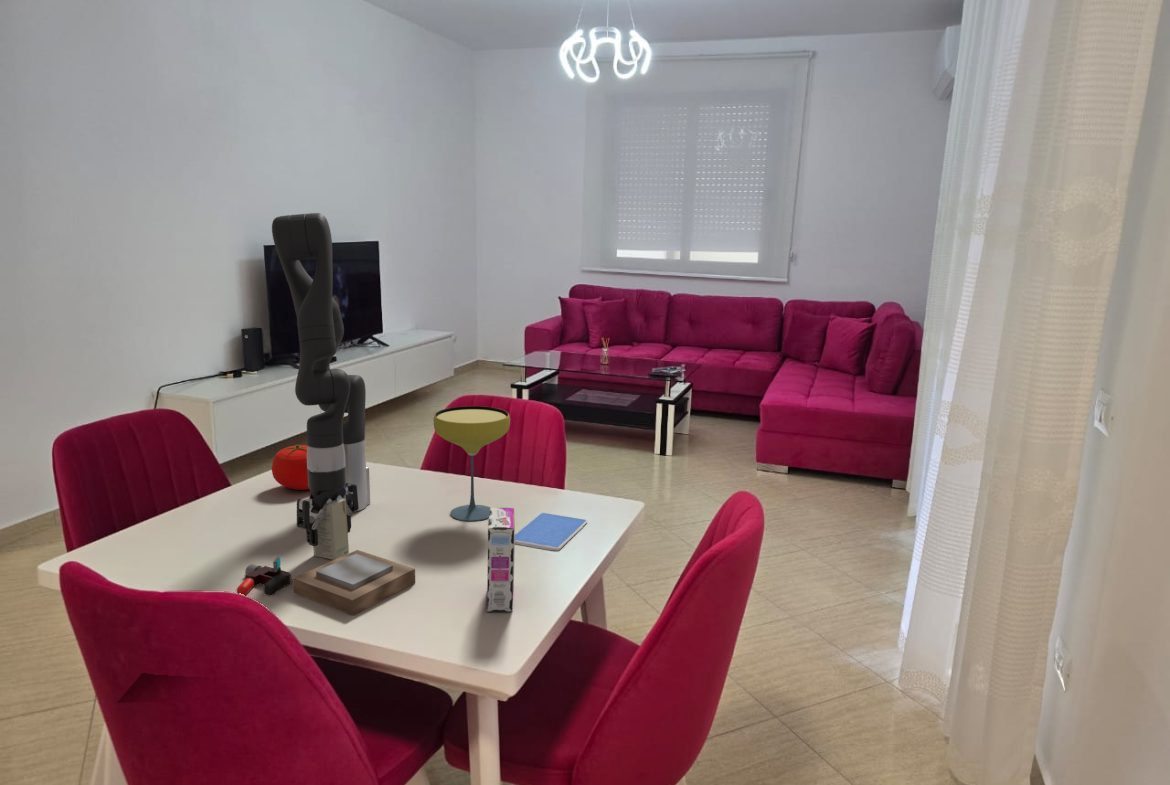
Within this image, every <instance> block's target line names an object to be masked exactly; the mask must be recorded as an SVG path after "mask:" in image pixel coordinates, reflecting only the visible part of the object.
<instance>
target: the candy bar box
mask: <svg viewBox="0 0 1170 785" xmlns="http://www.w3.org/2000/svg"><path fill="white" fill-rule="evenodd" d="M515 520H516V519H515V507H490V513H489V518H488V522H487V583H486V584H487V585H486V586H487V588H486V590H487V593H486V594H487V596H486V597H487V598H486V599H487V600H486V603H487V604H486V606H487V607H486V612H487V613H512V612H513V609H514V608H513V606H514V591H515V590H514V589H515V588H514V587H515V551H516V550H515V549H516V548H515V547H516V546H515V545H516V544H515V534H516V533H515V531H516V530H515V529H516V528H515V527H516V525H515V524H516V523H515Z"/></svg>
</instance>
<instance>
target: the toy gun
mask: <svg viewBox="0 0 1170 785" xmlns="http://www.w3.org/2000/svg"><path fill="white" fill-rule="evenodd" d="M272 563H273V564H272V566H273V567H271V566H268V565H264V566H261V565H257V564H253V563H250V564H248V565H247V567H246V568H245V572H244V574H245V575H244V578H245V579H244V580H243V581H241V583H240V584H239V585H238V586H237V587H236V593H237V594H238V593H241V594H244V596H246V595H247V594H248V593H249V592H250V591H251V590H252V589H253V587H257V586H259V585H262V586H263V587H264V588H263V590H264V594H265V595H268V596H274V595H276V594H277V593H278V592H279V591H280V590H281V589H283V588H285V587H287V586H289V585H291V572H289V571H285V570H283V569H282V568H281V557H280V555H278V556H276V558H274V560H273V562H272Z"/></svg>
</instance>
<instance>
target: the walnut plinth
mask: <svg viewBox="0 0 1170 785" xmlns="http://www.w3.org/2000/svg"><path fill="white" fill-rule="evenodd" d="M414 584H416V568H414V567H411V566H409V565H406V564H403V563H399V562H396V561H393V560H390V559H386V558H383V557H381V556H378V555H375V554H371V553H367V552H365V551H362V550H359V549H356V550H353V551H351V552H349V553H348V554H346V555H344V556H342V557H340V558H337V559H335V560H333V559H332V560H331V561H328V562H326V563H324V564H321V565H319V566H317V567H315V568H313V569H310V570H308V571H306V572H305V571H304V572H303V573H301V574H299V575H297V576H294V577H292V587H293V588H292V589H293V590H292V591H293V594H295V595H299V596H301V597H304V598H306V599H308V600H312V601H314V602H317V603H319V604H322V605H324V606H328V607H329V608H332V609H335V610H338V611H341V612H343V613H345V614H348V615H350V616H355V615H357V614H359V613H361V612H363V611H365V610H366V609H368V608H370V607H372V606H374V605H376V604H378V603H379V602H382V601H384V600H385V599H387V598H389V597H391V596H393V595H395V594H396V593H398V592H401V591H403V590H405V589H406V588H408V587H410V586H412V585H414Z"/></svg>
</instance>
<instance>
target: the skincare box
mask: <svg viewBox="0 0 1170 785" xmlns="http://www.w3.org/2000/svg"><path fill="white" fill-rule="evenodd" d="M318 513H319V512H317V511H315V514H318ZM313 520H314V519H313ZM312 522H313V521H312ZM316 529H318V545H317V546H312V548H313V556H315V557H319V558H325V559H329V560H332V561H333V560H335V559H337V558H340V557H342V556H344V555H347V554H349V553H350V547H349V546H350V544H349V533H348V529H347V514H346V500H345V499H342V500H338V501H336V500H333V501H332V503H330V504H328V506H327V511H326V513H325V515H324V517H323V519H322V520H320V521H319V524H318V526H317V528H316Z"/></svg>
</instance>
